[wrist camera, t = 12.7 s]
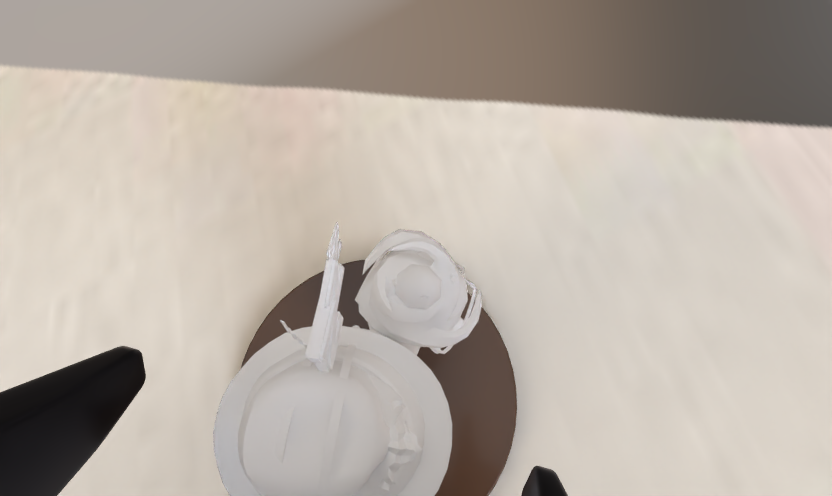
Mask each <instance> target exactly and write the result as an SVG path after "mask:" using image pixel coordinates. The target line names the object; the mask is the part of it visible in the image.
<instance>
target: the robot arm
mask: <svg viewBox="0 0 832 496" xmlns="http://www.w3.org/2000/svg"><path fill="white" fill-rule="evenodd" d="M145 378H146V374H145V368H144V363H143V357H142V353H141V352H140V351H139V350H137V349H133V348H130V347H126V346H120V347H117V348H114V349H112V350H109V351H106V352H104V353H101V354H99V355H96V356H93V357H91V358H88V359H86V360H83V361H81V362H78V363H75V364H73V365H70V366H68V367H65V368H62V369H60V370H57V371H55V372H52V373H49V374H47V375H44V376H42V377H39V378H37V379H34V380H31V381H29V382H26V383H24V384H21V385H18V386H16V387H13V388H11V389H8V390H5V391H3V392H0V496H57V495H58V494H59V493H60V492H61V491H62V489H63V488H64V487H65V486H66V485H67V484H68V482H69V481H70V480H71V479H72V478H73V477H74V475H75V474H76V473H77V472H78V471H79V470H80V468H81V467H82V466H83V465H84V464H85V463H86V462H87V460H88V459H89V458H90V457H91V456H92V454H93V453H94V452H95V451H96V450H97V448H98V447H99V446H100V444H101V443H102V442H103V441H104V439H105V438H106V437H107V435H108V434H109V432H110V431H111V430H112V428H113V427H114V425H115V424H116V423H117V421H118V420H119V418H120V417H121V416H122V414H123V413H124V411H125V410H126V409H127V407H128V406H129V404H130V403H131V402H132V400H133V399H134V397H135V396H136V395H137V393H138V392H139V391H140V389H141V388H142V386H143V384H144V382H145ZM522 496H568V495H567V493H566V491H565V489H564V487H563V485H562V483H561V481H560V480H559V478H558V476H557V474H556V473H555V472H554V471H553V470H551V469H547V468H544V467H540V466H535V467H534V468H533V469H532V471H531V473H530V475H529V478H528V480H527V482H526V484H525V486H524V488H523V491H522Z"/></svg>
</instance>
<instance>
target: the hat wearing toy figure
mask: <svg viewBox="0 0 832 496" xmlns="http://www.w3.org/2000/svg"><path fill="white" fill-rule="evenodd" d="M338 237H339V226H338V222H336V224H335V227H334V230H333V233H332V237H331V240H330V243H329V247H328V250H327V257H328V259H326V265H325V270H324V276H323V281H322V287H321V292H320V298H319V301H318V305H317V309H316V313H315V317H314V321H313V325H312V326H311V327H304V328H300V329H296V330H293V331H291V329H290V328H288V326H287V325H286V323H285V322H284V321H282V320H280V321H281V323H282V324H283V326H284V327H285V329H286V330H287V332H286V333H284V334H282V335H281V336H279V337H277V338H276V339H274V340H272V341H271V342H269V343H268V344H267V345H265V346H264V347H263V348H261V349H260V350H259V351H257V352H256V353H255V354H254V355H253V356H252V357H251V358H250V359H249V360H248V361H247V363H246V364H245V365H244V366H243V367H242V368H241V370H240V371H239V372H238V373H237V375H236V376H235V377H234V378H233V380H232V381H231V383H230V385H229V386H228V388H227V390H226V392H225V394H224V395H223V397H222V400H221V403H220V406H219V409H218V412H217V415H216V421H215V426H214V432H213V434H214V452H215V457H216V461H217V465H218V469H219V472H220V475H221V479H222V482H223V484H224V486H225V488H226V489H227V491H228V493H229V495H230V496H435V494H436V493H437V491H438V490H439V487H440V485H441V483H442V480H443V478H444V476H445V473H446V471H447V469H448V464H449V458H450V453H451V448H452V420H451V415H450V410H449V405H448V401H447V399H446V396H445V394H444V392H443V389H442V387H441V384H440V383H439V381H438V380H437V378H436V377H435V375H434V374H433V372H432V371H431V369H430V368H429V367H428V366H427V365H426V364H425V363H424V362H423V361H422V360H421V359H420V358H419V357H418V356H417V354H418V352H419V349H420V347H429V348H430V349H431V350H432V351H433V352H434V353H436V354H438V353H441V354H445V353H447V352H448V351H449V350H450V349H451V348H452V346H453V345H454V344H456V343H458V342H460V341H461V340H463V339H465V338H466V337H468V336H469V334H470V333H471V331H472V330H473V328H474V327H475V325H476V324H477V322H478V321H479V316H480V312H481V307H482V294H481V291H480V290H479V292H478V294H477V297H476V301H475V304H474V300H475V296H476V291H477V289H476V287H475V285H474V284H473V283H472V282H470V281H468V280H466V279H465V278H464V277H463V276H464V267H462V266H460V265H458V264H456V263H454V262H453V260H452V258H451V257H450V255H449V254H448V252H447V251H446V250H445V248H443V247H442V245H441V244H440V243H438V242H437V241H435V240H434V239H432V238H431V237H429V236H428V235H426V234H425V233H423V232H422V231H412V230H402V229H398V230H397V231H395V232H393V233H391V234H389V235H387V236H386V237H384V238H383V239H382V240H381V241H380V242H379V243H378V244H377V245H376V247H375V248H374V249H373V250H372V252H371V253H370V254H369V256H368V257H367V258H366V260H365V263H364V269H363V274H364V273H365V272H366V271H367V269H368V268H369V267H370V266H371V265H372V264H373V263H374V262H375V261H376V262H375V263H374V265H373V267H372V268H371V270H370V271H369V273H368V275H367V276H366V278H365V280H364V282H363V284H362V286H361V288H360V290H359V292H358V294H357V296H356V298H355V301H356V302H357V303H358V304H359V313H360V314H361V315H362V316H363V317H364V319H365V320H366V321H367V322H368V325H369V329H370V330H367V329H362V328H360V327H359V326H357V325H355V326H353V327H346V326H342V324H343V316H342V315H341V314H340V312H339V311H337V309H338V303H339V297H340V292H341V286H342V280H343V275H344V269H345V268H344V267H343V265H342V264H340V263H338V259H339V255H340V252H341V248H342V242H341V239H339V241H338ZM387 251H391V252H390V253H389V254H388V255H387V256H386V257H385V258H384V256H385V255H386V253H387ZM383 258H384V259H383ZM459 270H460V271H462V272H461V273H460V272H459ZM363 274H362V275H363ZM467 284H469V285H470V286H471V288H472V289H473V293H472V297H471V301H470V304H469V307H468V310H467V313H466V316H465V318H464V320H463V319H462V318H461V314H462V312H463V310H464V308H465V306H466V303H467V301H468V294H467ZM473 304H474V307H473ZM472 307H473V309H472ZM471 310H472V312H471ZM470 313H471V315H470ZM469 316H470V317H469ZM443 347H446V348H445V349H444V350H443V351H442V350H441V348H443Z"/></svg>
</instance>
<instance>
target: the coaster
mask: <svg viewBox="0 0 832 496" xmlns="http://www.w3.org/2000/svg"><path fill="white" fill-rule="evenodd" d="M375 262H376V261H375ZM375 262H374V263H375ZM364 263H365V260H360V261H354V262H350V263H345V264H342V265H343V267H344V268H345V269H344V275H343V280H342V286H341V292H340V297H339V303H338V309H337V311H339V312H340V314H341V315H342V316H343V324H342V326H346V327H353V326H355V325H357V326H359V327H360V328H362V329H367V330H370V329H369V325H368V322H367V321H366V320H365V319H364V317H363V316H362V315H361V314H360V313H359V304H358V303H357V302H356V301H355V298H356V296H357V294H358V292H359V290H360V288H361V286H362V284H363V282H364V280H365V278H366V276H367V275H368V273H369V271H370V270H371V268H372V267H373V265H374V263H373V264H372V265H371V266H370V267H369V268H368V269H367V271H366V272H365V273H364V274H363V269H364ZM362 274H363V275H362ZM323 276H324V271H323V272H321V273H319V274H317V275H315V276H313V277H311V278H309V279H308V280H306V281H305V282H303V283H302V284H300V285H299V286H297V287H296V288H295V289H293V290H292V291H291V292H290V293H289V294H288V295H286V296H285V297H284V298H283V299H282V300H281V301H280V302H279V303H278V304H277V305H276V306H275V308H274V309H273V310H272V311H271V312H270V313H269V314H268V316H267V317H266V319H265V320H264V321H263V323H262V324H261V326H260V327H259V329H258V330H257V332H256V334H255V336H254V338H253V340H252V341H251V343H250V345H249V348H248V350H247V353H246V355H245V358H244V360H243V363H242V367H243V366H244V365H245V364H246V363H247V361H248V360H249V359H250V358H251V357H252V356H253V355H254V354H255V353H256V352H257V351H259V350H260V349H261V348H263V347H264V346H265V345H267V344H268V343H269V342H271V341H272V340H274V339H276V338H277V337H279V336H281V335H282V334H284V333H286V332H287V330H286V329H285V327H284V326H283V324H282V323H281V321H280V320H282V321H284V322H285V323H286V325H287V326H288V328H290V329H291V331H293V330H296V329H300V328H304V327H311V326H312V325H313V321H314V317H315V313H316V309H317V305H318V301H319V298H320V292H321V287H322V281H323ZM467 294H468V301H467V303H466V306H465V308H464V310H463V312H462V314H461V318H462V319H463V320H464V318H465V316H466V313H467V310H468V307H469V304H470V301H471V297H472V296H471V295H470V294H469V293H468V292H467ZM475 301H476V300H474V304H475ZM474 304H473V307H474ZM473 307H472V309H473ZM471 312H472V310H471ZM470 315H471V313H470ZM469 317H470V316H469ZM445 348H446V347H443V348H441V350H442V351H443V350H444V349H445ZM417 356H418V357H419V358H420V359H421V360H422V361H423V362H424V363H425V364H426V365H427V366H428V367H429V368H430V369H431V371H432V372H433V374H434V375H435V377H436V378H437V380H438V381H439V383H440V384H441V387H442V389H443V392H444V394H445V396H446V399H447V401H448V405H449V410H450V415H451V420H452V448H451V453H450V458H449V464H448V469H447V471H446V473H445V476H444V478H443V480H442V483H441V485H440V487H439V490H438V491H437V493H436V494H435V496H488V495H489V494H490V492H491V491H492V489H493V488H494V486H495V485H496V483H497V481H498V479H499V477H500V475H501V473H502V471H503V469H504V467H505V464H506V461H507V458H508V455H509V452H510V449H511V446H512V441H513V436H514V432H515V425H516V413H517V398H516V385H515V379H514V373H513V368H512V365H511V361H510V358H509V355H508V351H507V349H506V347H505V344H504V342H503V340H502V338H501V335H500V333H499V332H498V330H497V328H496V327H495V325H494V323H493V322H492V320H491V318H490V317H489V316H488V314H487V313H486V312H485V311H484V309H483V308H482V307H481V312H480V316H479V321H478V322H477V324H476V325H475V327H474V328H473V330H472V331H471V333H470V334H469V336H468V337H466V338H465V339H463V340H461V341H460V342H458V343H456V344H454V345H453V346H452V348H451V349H450V350H449V351H448V352H447V353H445V354H441V353H438V354H436V353H434V352H433V351H432V350H431V349H430V348H429V347H420V349H419V352H418V354H417ZM242 367H241V368H242Z"/></svg>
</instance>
